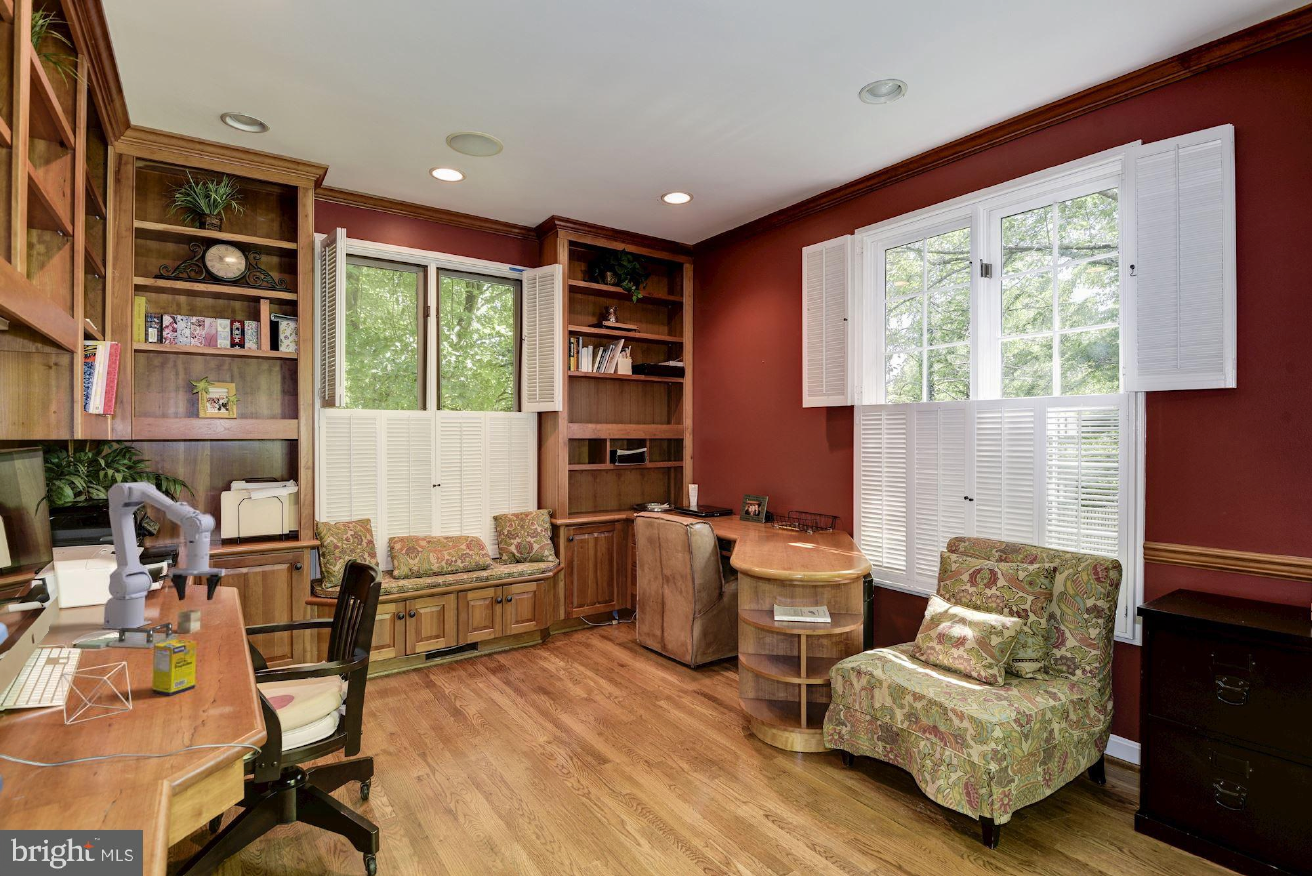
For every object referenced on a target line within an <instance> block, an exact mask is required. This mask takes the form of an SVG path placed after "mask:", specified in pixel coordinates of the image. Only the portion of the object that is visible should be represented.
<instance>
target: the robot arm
mask: <svg viewBox="0 0 1312 876" xmlns="http://www.w3.org/2000/svg"><path fill="white" fill-rule="evenodd" d="M107 497H108V504H109V506H108V507H109V508H108V514H109V521H110V527H111V533H112V540H113V548H114V553H115V560H116V561H115V562H116V568H115V569H114V570H113V571H112V572H111V573H110V574H109V583H108V584H109V585H108V591H109V594H110V596H111V597H110V598H109V599H107V601H106V603H105V604H104V611H103V613H104V614H103V615H104V616H103V626H101V629H109V628H110V629H111V630H113V629H115V630H116V629H117V630H120V629H121V628H122V627H125V628H141V627H143V626H145V625H149V624H151V623H152V621H149V620H145V610H146V609H145V605H146V596H147V595H148V592H149V591H150V590H151V589H152V586H153V579H152V576H151V575H150V573H149V569H148V567H146V566H145V565H143V564H142V563H140V556H139V555H140V554H139V550H138V542H137V537H136V531H135V529H136V528H135V525H134V524H135V523H134V517H133V513H135V512H136V510H137V509H139V508H140V507H141V506H143V505H145V504H146V503H148V504H149V505H152V506H154V507H156V508H158V509H160V510H162V511H164V512H166V513H165V514H166V518H167V519H169V520H171V521H172V522H174V523H176V524H177V525H179V526H180V527H182V529H183V530H182V531H183V532H184V534H185V540H186V559H185V560H186V561H185V562H186V563H185V565H186V566H185V567H183V568H171V569H168V577H171V578H170V582H171V584H172V585H173V586H174V589H175V591H176V594H177V598H178V601H179V602H180V601H184V600H186V599H185V598H186V587H187V581H188V577H194V576H195V577H196V576H197V577H206V578H205V580H206V588H207V589H206V601H211V600H213V598H214V594H215V591H216V589H217V587H218V585H219V583H220V581H221V580H222V578H223V576H225V573H226V568H215V567H210V548H211V547H210V546H211V545H210V544H211V532H213V531H214V529H215V528H216V520H215V517H214V516H212V515H211V514H210V513H204V514H203V513H201V511H200V510H198V509H194V508H193V507H191V506H189V504H188V503H187V502H186V501H177V502H174V500H172V499H170V498H169V497H168V496H167V495H165V494H164V493H162V492H161V491H159V490H158V489H157V487H156V485H154V484H152V483H150V482H148V481H141V482H140V481H137V482H134V481H133V482H116V483H114V484H112V486H111V487H110V488H109V490H108V491H107Z"/></svg>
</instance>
